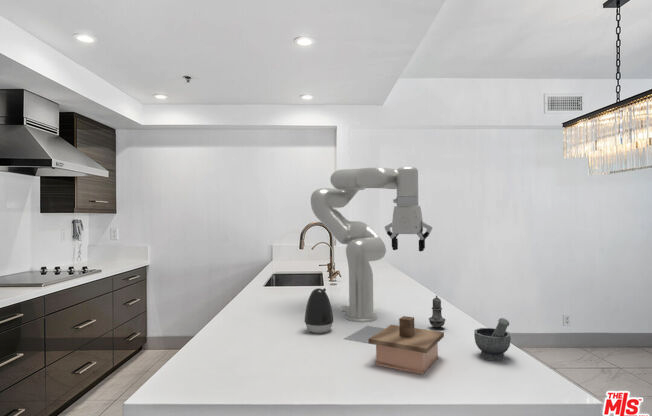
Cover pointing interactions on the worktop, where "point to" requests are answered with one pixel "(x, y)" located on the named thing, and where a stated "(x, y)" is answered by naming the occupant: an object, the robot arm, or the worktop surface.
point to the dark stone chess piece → (437, 315)
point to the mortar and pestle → (493, 340)
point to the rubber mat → (364, 334)
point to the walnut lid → (407, 336)
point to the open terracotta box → (405, 358)
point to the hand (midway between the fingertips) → (408, 250)
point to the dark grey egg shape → (318, 312)
